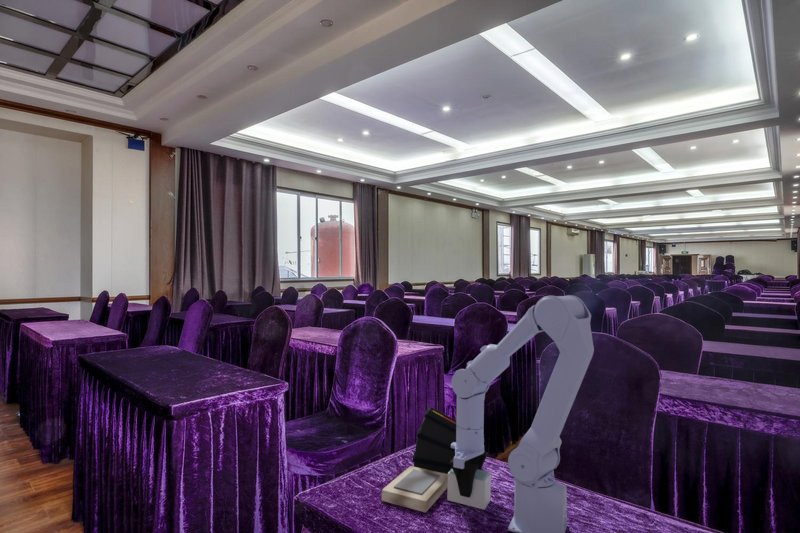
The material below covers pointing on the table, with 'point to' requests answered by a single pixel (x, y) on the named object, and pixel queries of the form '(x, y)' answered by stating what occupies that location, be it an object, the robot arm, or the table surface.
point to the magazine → (435, 442)
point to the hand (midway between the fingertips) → (469, 490)
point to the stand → (416, 488)
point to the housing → (479, 490)
